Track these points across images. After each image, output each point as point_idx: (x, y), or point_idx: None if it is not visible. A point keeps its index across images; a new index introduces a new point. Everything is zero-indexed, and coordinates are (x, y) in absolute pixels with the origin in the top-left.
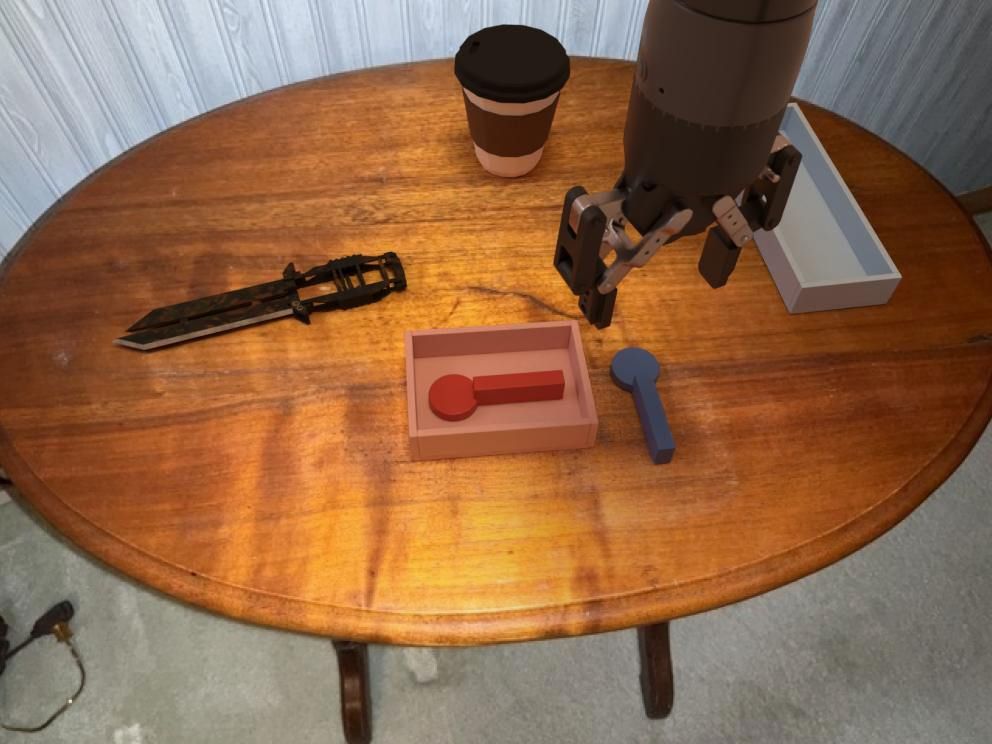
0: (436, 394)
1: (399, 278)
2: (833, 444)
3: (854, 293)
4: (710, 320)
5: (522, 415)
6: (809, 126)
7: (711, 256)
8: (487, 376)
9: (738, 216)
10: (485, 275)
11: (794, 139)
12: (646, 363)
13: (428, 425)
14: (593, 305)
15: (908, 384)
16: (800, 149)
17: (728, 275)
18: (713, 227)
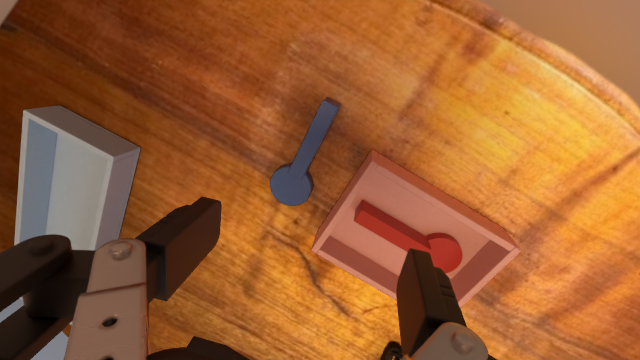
0: (451, 264)
1: (394, 354)
2: (189, 20)
3: (76, 126)
4: (203, 182)
5: (401, 207)
6: None
7: (194, 250)
8: None
9: (82, 344)
10: (330, 316)
11: None
12: (280, 183)
13: (471, 245)
14: (455, 304)
15: (90, 28)
16: None
17: (190, 206)
18: (159, 297)
